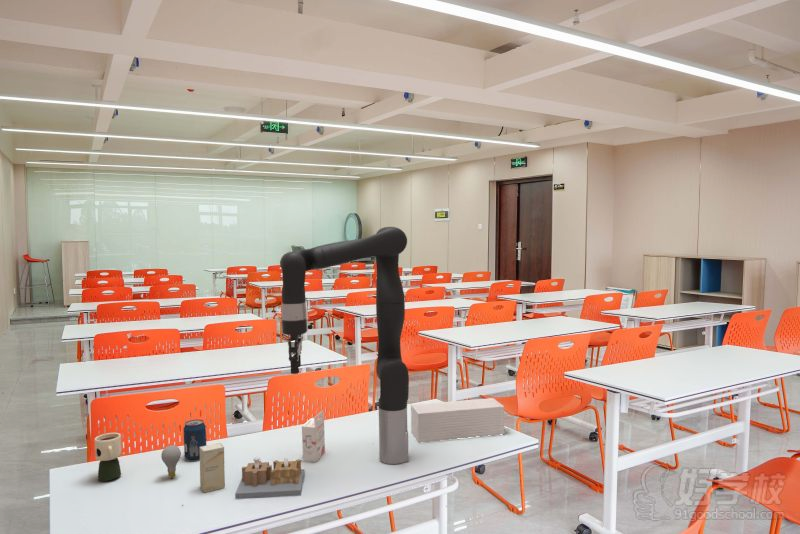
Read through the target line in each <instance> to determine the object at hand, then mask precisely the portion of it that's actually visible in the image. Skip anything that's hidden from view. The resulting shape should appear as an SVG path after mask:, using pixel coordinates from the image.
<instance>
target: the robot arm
mask: <svg viewBox="0 0 800 534" xmlns="http://www.w3.org/2000/svg"><path fill="white" fill-rule="evenodd" d="M407 245H408V237H407V235H406V233H405V232H404V231H403V230H402V229H400V228H399V227H395V226H384V227H382V228H379V230H377V231H376V233H374V234H372V235H370V236H369V235H368V236H367V237H366V236H365V237H362V238H357V239H349V240H344V241H341V240H340V241H337V242H336V241H335V242H332V243H327V244H321V245H318V246H315V247H311V248H305V249H299V250H295V251H294V250H293V251H288V252H286V253H285V254H283V255H282V257H281V258H280V260H279V261H280V262H279V266H280V269H281V271H282V274H281V275H282V287H281V332H282V334H283V335H286V336H287V335H289V338H288V340H287V346H288V361H289V362H290V374H291V375H297V374H299V368H300V367H301V365H302V362H301V360H302V359H301V354H302V351H303V345H302V344H303V338H302V335H303V334H306V333H307V332H308V314H307V311H308V310H307V309H308V308H307V305H306V287H305V286H306V285H305V284H306V283H305V282H306V273H307V272H308V271H311V270H321V269H327V268H331V267H335V266H338V265H342V264H346V263H350V262H353V261H357V260H362V259H366V258H367V259H368V258H373V257H375V264H376V265H375V266H376V283H375V286H376V287H375V288H376V289H375V290H376V291H375V292H376V293H375V314H376V327H377V328H376V329H377V330H376V331H377V338H378V339H377V340H378V343H377V344H378V345H377V346H378V347H377V359H376V376H377V377H378V379H379V386H380V387H379V388H380V389H379V390H380V391H379V392H380V393H379V398H378V443H379V445H378V448H379V449H378V450H379V452H378V453H379V455H378V456H379V457H378V458H379V461H380V462H382V463H384V464H388V465H398V464H399V465H400V464H403V463H405V462H406V463H407V462H410V461H409V459H410V458H409V455H410V453H409V430H408V401H409V394H410V393H409V390H410V389H409V386H410V385H409V383H410V380H409V378H410V377H409V369H408V367H407V365H406V363H404V362H403V358H402V350H401V338H402V332H403V328H404V323H405V317H406V309H405V307H406V303H405V302H406V301H405V293H404V288H403V287H404V286H403V284H402V280H401V276H400V271H399V260H400V259H399V258H400V257H399V256H400V255H401V253H403V252H404V251H405V249H406V248H407Z"/></svg>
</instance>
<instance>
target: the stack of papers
mask: <svg viewBox="0 0 800 534" xmlns="http://www.w3.org/2000/svg"><path fill="white" fill-rule="evenodd" d="M410 432H411V435H412V434H413V435H412V436H413V437H415V438H416V439H415V438H414V439H415V441H416V442H417V443H418V444H422V443H421V442H427V443H431V442H430V441H437V442H441V441H440V440H447V441H449V440H448V439H457V438H468V437H476V436H488V435H499V436H501V435H500V434H504V435H505V406H504V404H502V403H500V402H499V401H497V400H496V399H495V398H494V397H489V398H475V399H465V400H462V399H461V400H451V401H437V402H429V403H416V404H415V403H413V404H410ZM488 437H489V436H488ZM468 439H469V438H468ZM457 440H458V439H457Z"/></svg>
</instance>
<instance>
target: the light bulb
mask: <svg viewBox="0 0 800 534" xmlns="http://www.w3.org/2000/svg"><path fill="white" fill-rule="evenodd" d="M181 456H182V451H181V449H180V447H178V446H177V445H172V444H171V445H168V446H166V447H164V449H162V451H161V456H160V458H161V460H162V462H163V463H164V464H165V466H166V467H167V474H168V476H167V477H168V478H169V479H174V478H175V477H176V470H177V468H176V467H177V465H178V463H179V461H180V459H181Z"/></svg>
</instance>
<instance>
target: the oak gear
mask: <svg viewBox="0 0 800 534" xmlns="http://www.w3.org/2000/svg"><path fill="white" fill-rule="evenodd" d="M272 464H273V465H272V467H273V469H272V470H271V471H270V478H271V485H275V484H279V483H295V484H298V483H299V474H300V473H301V469H302V460H301V459H296V460H288V467H284V460H283V461H278V460H274V461H273V463H272Z"/></svg>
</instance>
